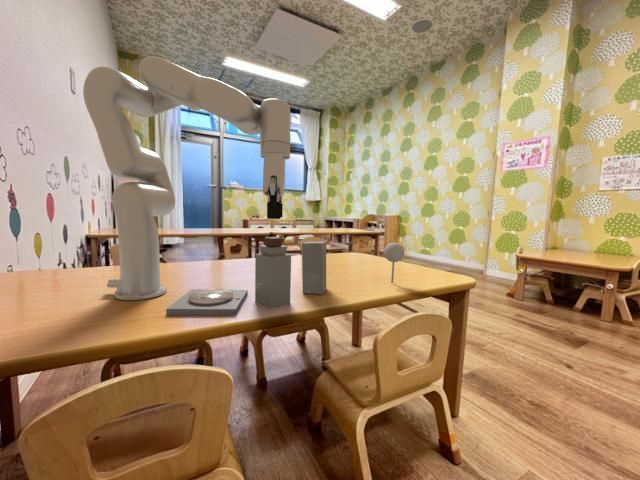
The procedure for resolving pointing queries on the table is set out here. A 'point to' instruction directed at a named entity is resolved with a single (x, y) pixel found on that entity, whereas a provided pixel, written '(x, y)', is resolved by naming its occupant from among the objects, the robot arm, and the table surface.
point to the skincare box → (314, 267)
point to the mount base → (208, 302)
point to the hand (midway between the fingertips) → (275, 218)
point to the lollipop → (393, 254)
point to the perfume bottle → (272, 274)
